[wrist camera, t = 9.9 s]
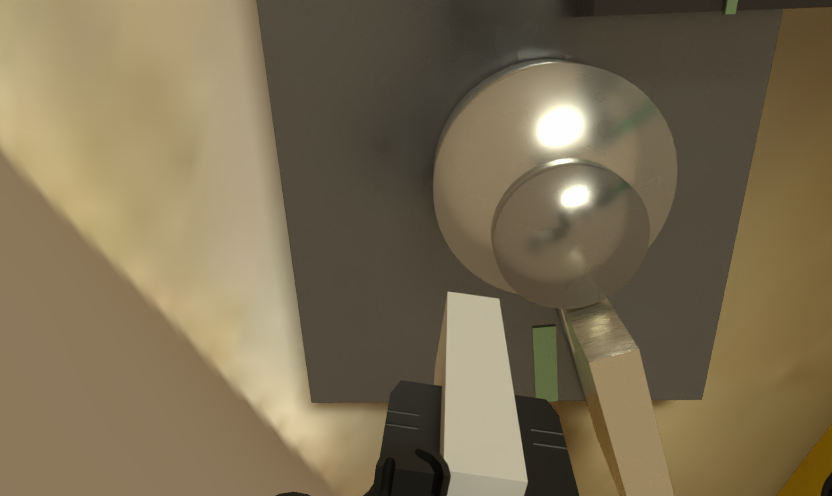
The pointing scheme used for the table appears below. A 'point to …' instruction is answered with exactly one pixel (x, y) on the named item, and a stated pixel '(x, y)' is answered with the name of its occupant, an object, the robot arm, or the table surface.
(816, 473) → the spirit level
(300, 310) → the stand
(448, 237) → the silver ladle
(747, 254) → the table surface
